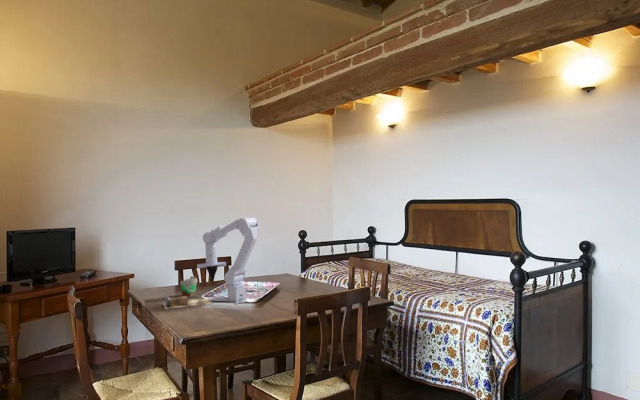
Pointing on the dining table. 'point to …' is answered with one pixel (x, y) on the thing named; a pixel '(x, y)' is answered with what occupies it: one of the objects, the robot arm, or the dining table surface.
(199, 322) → the dining table surface
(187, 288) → the food container
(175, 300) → the tan cardboard box
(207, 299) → the board
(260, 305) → the dining table surface
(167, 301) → the cylinder
